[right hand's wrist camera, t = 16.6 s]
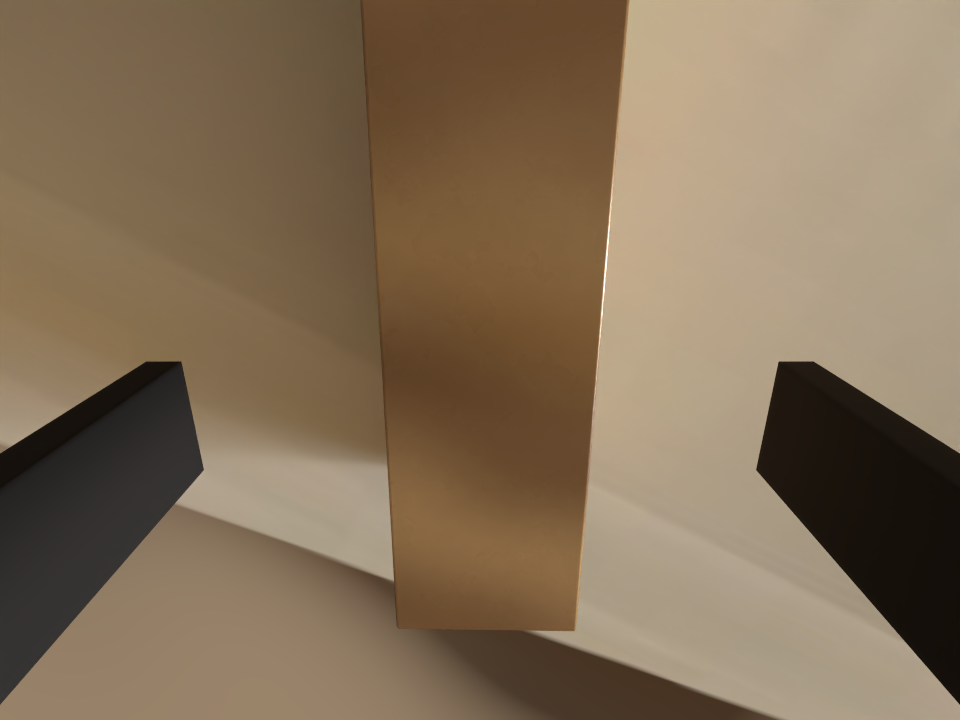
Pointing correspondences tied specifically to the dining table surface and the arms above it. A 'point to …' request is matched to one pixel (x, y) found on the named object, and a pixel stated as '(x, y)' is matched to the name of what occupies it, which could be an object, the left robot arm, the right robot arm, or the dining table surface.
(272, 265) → the dining table surface
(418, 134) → the beam
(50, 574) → the right robot arm
